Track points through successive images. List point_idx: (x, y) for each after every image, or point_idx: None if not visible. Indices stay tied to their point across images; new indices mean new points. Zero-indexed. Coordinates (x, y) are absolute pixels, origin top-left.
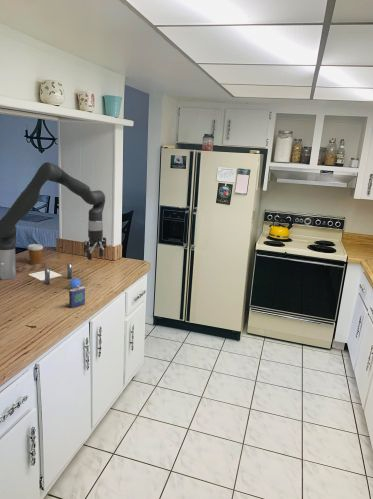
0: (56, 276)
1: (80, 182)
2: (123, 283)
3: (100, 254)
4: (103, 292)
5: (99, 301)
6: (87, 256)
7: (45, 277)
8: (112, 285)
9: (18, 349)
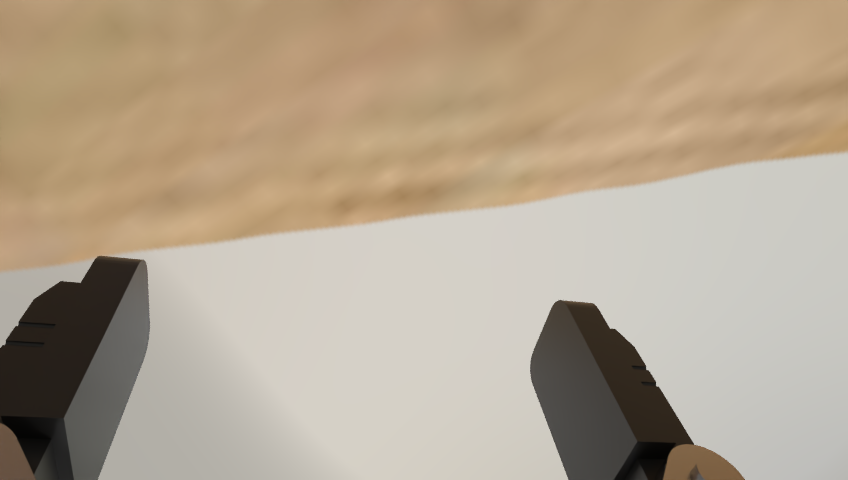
0: None
1: None
2: (683, 163)
3: (561, 365)
4: (361, 144)
5: (147, 241)
6: (12, 343)
7: None
8: (589, 106)
9: None
